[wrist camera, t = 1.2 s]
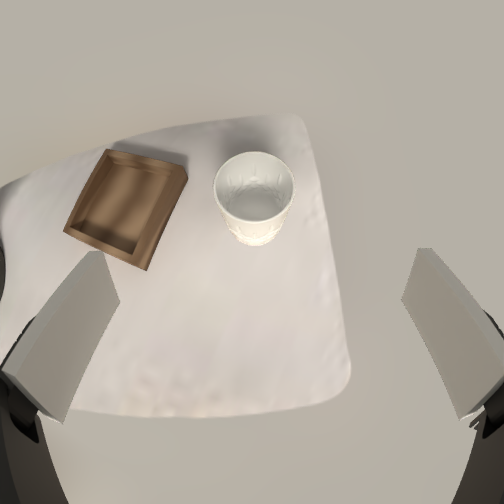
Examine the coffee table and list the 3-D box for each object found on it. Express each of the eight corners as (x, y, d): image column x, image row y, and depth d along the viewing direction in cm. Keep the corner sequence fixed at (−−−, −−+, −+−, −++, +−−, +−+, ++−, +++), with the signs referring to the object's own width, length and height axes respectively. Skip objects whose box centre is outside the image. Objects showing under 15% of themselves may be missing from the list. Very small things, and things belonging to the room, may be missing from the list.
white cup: (283, 193, 36) (292, 151, 26) (286, 250, 34) (298, 222, 24) (225, 194, 36) (215, 152, 26) (223, 251, 34) (211, 223, 24)
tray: (75, 238, 35) (62, 231, 32) (115, 160, 38) (106, 148, 35) (146, 271, 34) (135, 265, 30) (188, 178, 37) (182, 166, 33)
